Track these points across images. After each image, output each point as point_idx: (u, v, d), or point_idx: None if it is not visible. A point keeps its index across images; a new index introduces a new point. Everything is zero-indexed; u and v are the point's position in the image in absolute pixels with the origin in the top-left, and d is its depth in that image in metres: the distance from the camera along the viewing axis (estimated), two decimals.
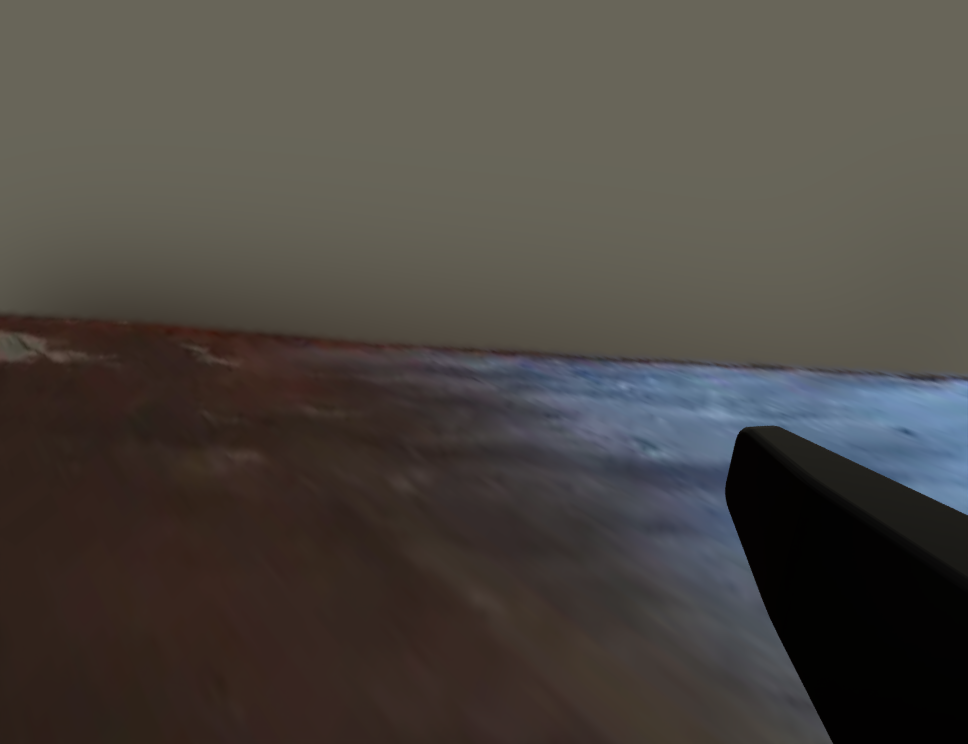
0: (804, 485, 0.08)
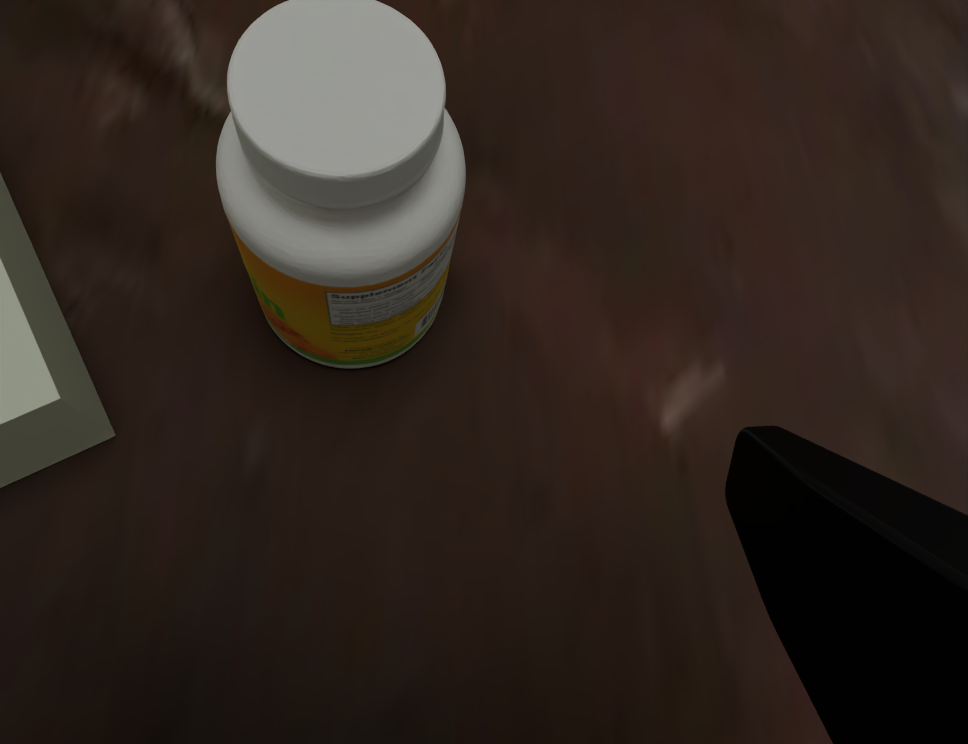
0: (804, 485, 0.08)
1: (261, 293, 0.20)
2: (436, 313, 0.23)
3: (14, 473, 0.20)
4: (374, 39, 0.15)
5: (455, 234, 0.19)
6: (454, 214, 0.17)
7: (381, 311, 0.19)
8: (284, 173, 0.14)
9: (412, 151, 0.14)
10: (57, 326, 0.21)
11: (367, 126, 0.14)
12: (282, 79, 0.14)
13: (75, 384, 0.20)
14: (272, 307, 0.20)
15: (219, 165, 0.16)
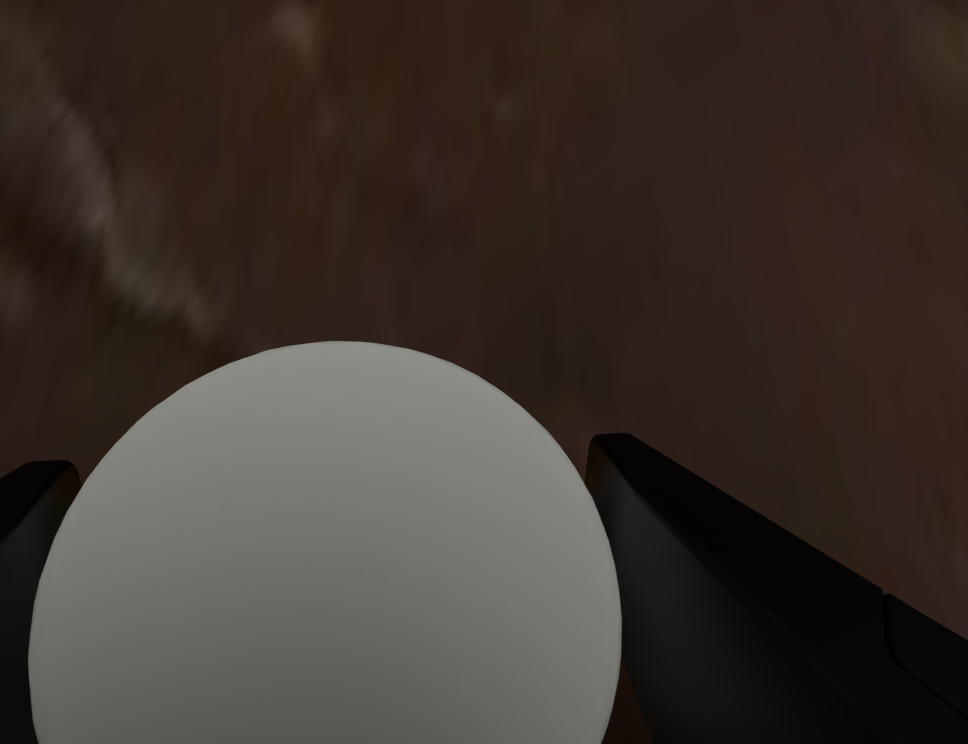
0: (632, 495, 0.07)
1: None
2: None
3: None
4: (435, 478, 0.06)
5: None
6: None
7: None
8: None
9: None
10: None
11: None
12: (186, 627, 0.05)
13: None
14: None
15: None
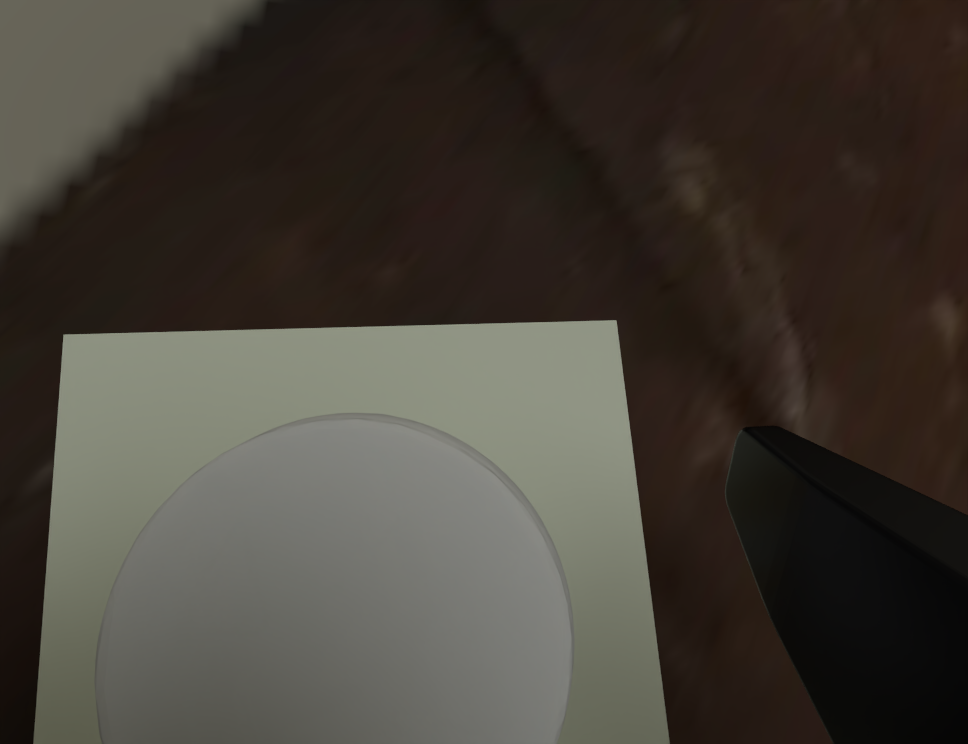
0: (804, 485, 0.08)
1: None
2: None
3: None
4: (421, 533, 0.07)
5: None
6: None
7: None
8: None
9: None
10: None
11: None
12: (220, 657, 0.06)
13: None
14: None
15: None
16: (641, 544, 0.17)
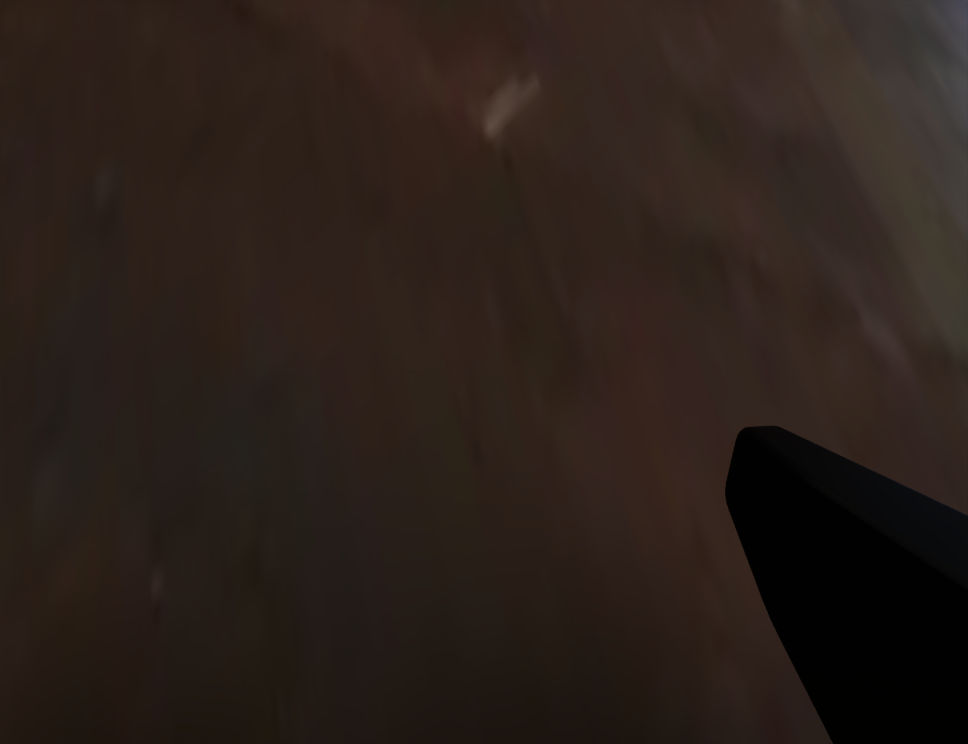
0: (804, 485, 0.08)
1: None
2: None
3: None
4: None
5: None
6: None
7: None
8: None
9: None
10: None
11: None
12: None
13: None
14: None
15: None
16: None
